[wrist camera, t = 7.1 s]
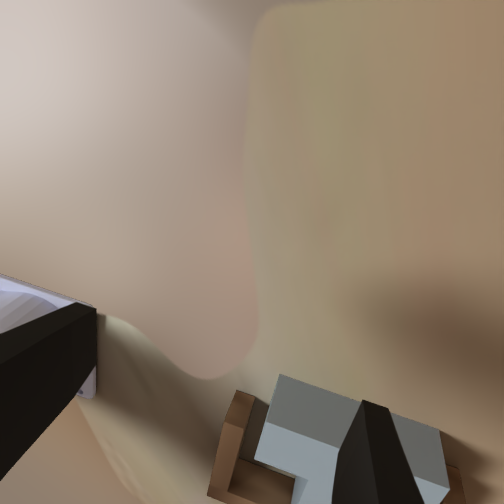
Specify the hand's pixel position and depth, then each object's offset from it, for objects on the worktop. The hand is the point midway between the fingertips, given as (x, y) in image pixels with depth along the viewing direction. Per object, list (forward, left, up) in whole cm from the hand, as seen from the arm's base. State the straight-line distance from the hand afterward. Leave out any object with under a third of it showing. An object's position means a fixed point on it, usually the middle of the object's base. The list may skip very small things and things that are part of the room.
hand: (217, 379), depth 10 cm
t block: (+6, -12, -10) cm, 16 cm away
